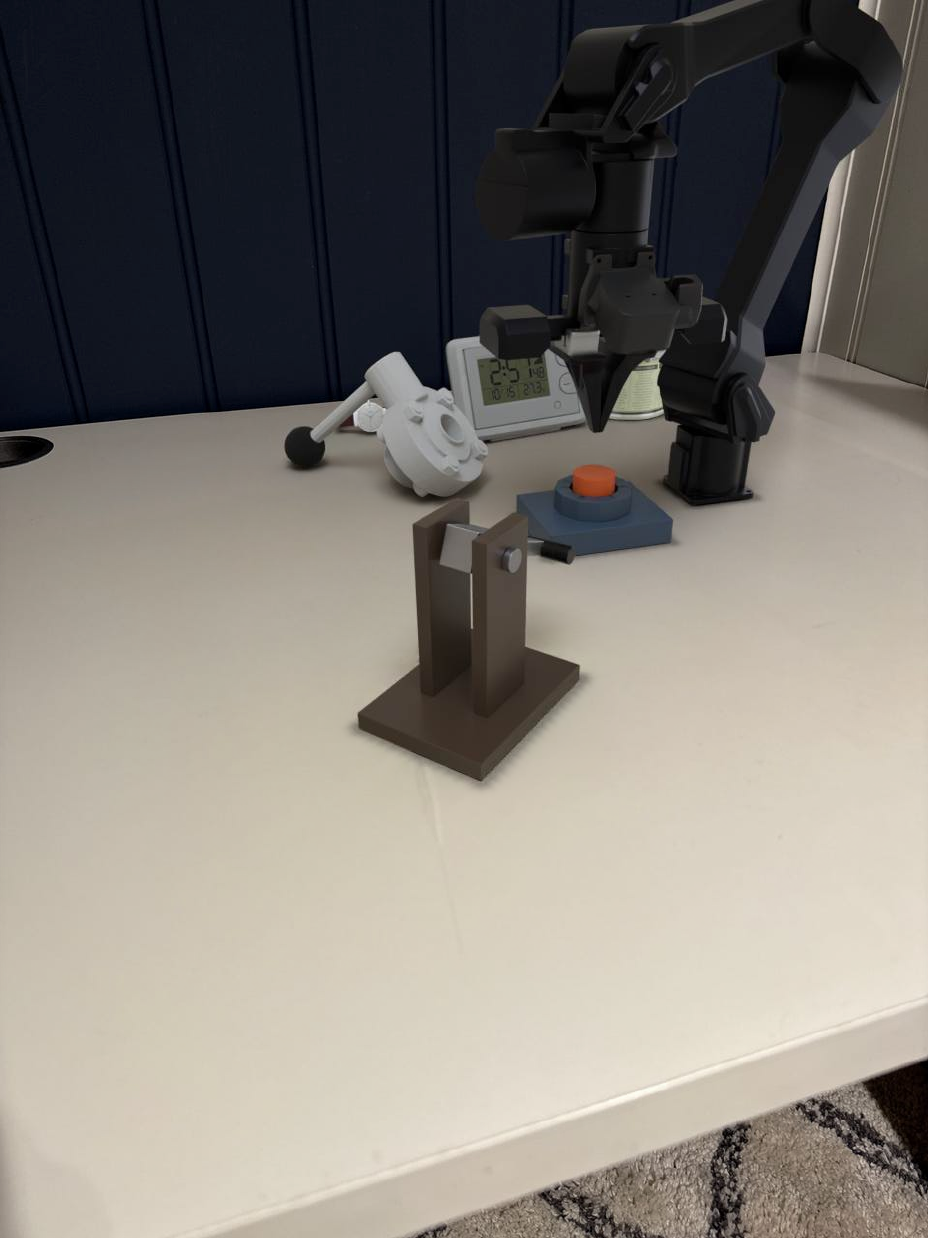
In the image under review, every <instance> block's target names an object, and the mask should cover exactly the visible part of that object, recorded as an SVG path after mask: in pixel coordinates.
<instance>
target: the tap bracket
mask: <svg viewBox="0 0 928 1238" xmlns="http://www.w3.org/2000/svg"><path fill="white" fill-rule="evenodd" d="M470 505H471V504H470V501H469V500H466V499H463V498H462V499H461V498H458V497H455V498H453V499H452V500H450V501H448V502H447V503H445V504H444V505H442V506H440V507H439V508H437V509H435V510H433V511H432V512H430V513H429V514H427V515H425V516H423V517H422V518H420V519H418V520H417V521H415V522H413V523H412V545H413V547H412V548H413V565H414V566H413V567H414V586H415V604H416V605H415V607H416V627H417V628H416V629H417V646H418V647H417V648H418V665H416V666H415V667H414V668H412V669H411V670H409V671H408V672H407V673H406V674H405V675H404V676H402V677H401V678H400V679H398V680H397V681H396V682H395V683H393V684H392V685H391V686H390V687H388V688H387V689H386V690H384V691H383V692H381V694H379V695H378V696H377V697H376V698H374V699H373V700H372V701H371V702H369V703H368V704H367V705H366V706H364V707H362V709H360V710H359V711H358V712H357V723H358V724H357V725H358V728H359V729H360V730H362V731H364V732H367V733H369V734H372V735H373V736H375V737H377V738H381V739H383V740H386V741H388V742H390V743H392V744H395V745H397V746H399V747H402V748H404V749H406V750H408V751H411V752H413V753H415V754H418V755H420V756H422V757H425V758H427V759H429V760H431V761H434V762H436V763H438V764H441V765H443V766H446V767H448V768H450V769H452V770H455V771H457V772H460V773H461V774H464V775H467V776H469V777H471V778H473V779H476V780H478V781H482V780H483V779H484V778H485V777H486V776H487V775H488V774H489V773H490V772H491V771H492V770H493V769H494V768H495V767H496V766H497V765H498V764H499V763H500V762H501V760H503V759H504V758H505V757H506V756H507V755H508V754H509V752H510V751H512V749H514V748H515V747H516V746H517V744H518V743H519V742H520V741H521V740H522V739H523V738H524V737H525V736H526V735H527V734H528V733H529V732H530V731H531V730H532V729H533V728H534V726H536V725H537V724H538V722H539V721H540V720H541V719H543V717H544V716H546V714H548V712H549V711H550V710H551V709H552V708H553V707H554V706H555V705H557V703H558V702H559V701H560V700H561V699H562V698H563V697H564V696H565V695H566V693H568V692H569V690H570V689H571V688H573V686H575V684H576V683H577V682H578V681H579V680H580V672H581V670H580V669H581V665H580V664H579V663H575V662H572V661H570V660H567V659H564V658H561V657H558V656H554V655H551V654H548V653H546V652H543V651H540V650H537V649H534V648H530V647H527V646H526V628H527V627H526V626H527V624H526V623H527V583H528V582H527V581H528V557H527V544H528V535H529V532H528V516H526V515H522V514H518V513H516V512H512V513H510V514H508V515H507V516H506V517H505V518H503V519H501V520H500V521H498V522H497V523H495V524H494V525H493V526H491V527H490V528H488V530H487V531H485V532H484V533H482V534H481V535H479V536H478V537H476V538H475V539H473V540H472V574H469V573H465V572H462V571H459V570H455V569H452V568H449V567H445V566H442V565H440V564H439V561H440V556H441V551H442V546H443V540H444V535H445V530H446V525H447V524H471V521H470V520H471V518H470V517H471V516H470V515H471V514H470V512H471V511H470Z"/></svg>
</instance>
